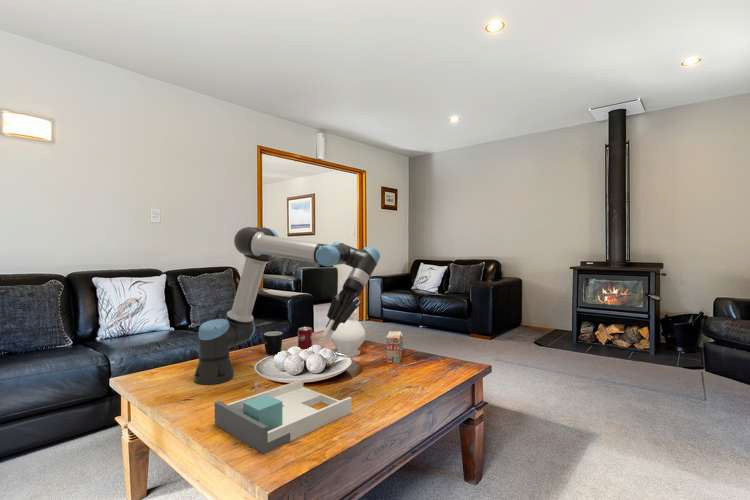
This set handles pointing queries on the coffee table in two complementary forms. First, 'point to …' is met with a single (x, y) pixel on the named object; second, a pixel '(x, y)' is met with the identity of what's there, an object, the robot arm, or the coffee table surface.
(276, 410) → the block
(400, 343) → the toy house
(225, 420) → the tray
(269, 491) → the coffee table surface
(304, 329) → the soda can
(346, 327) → the decorative vase
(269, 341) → the mug
